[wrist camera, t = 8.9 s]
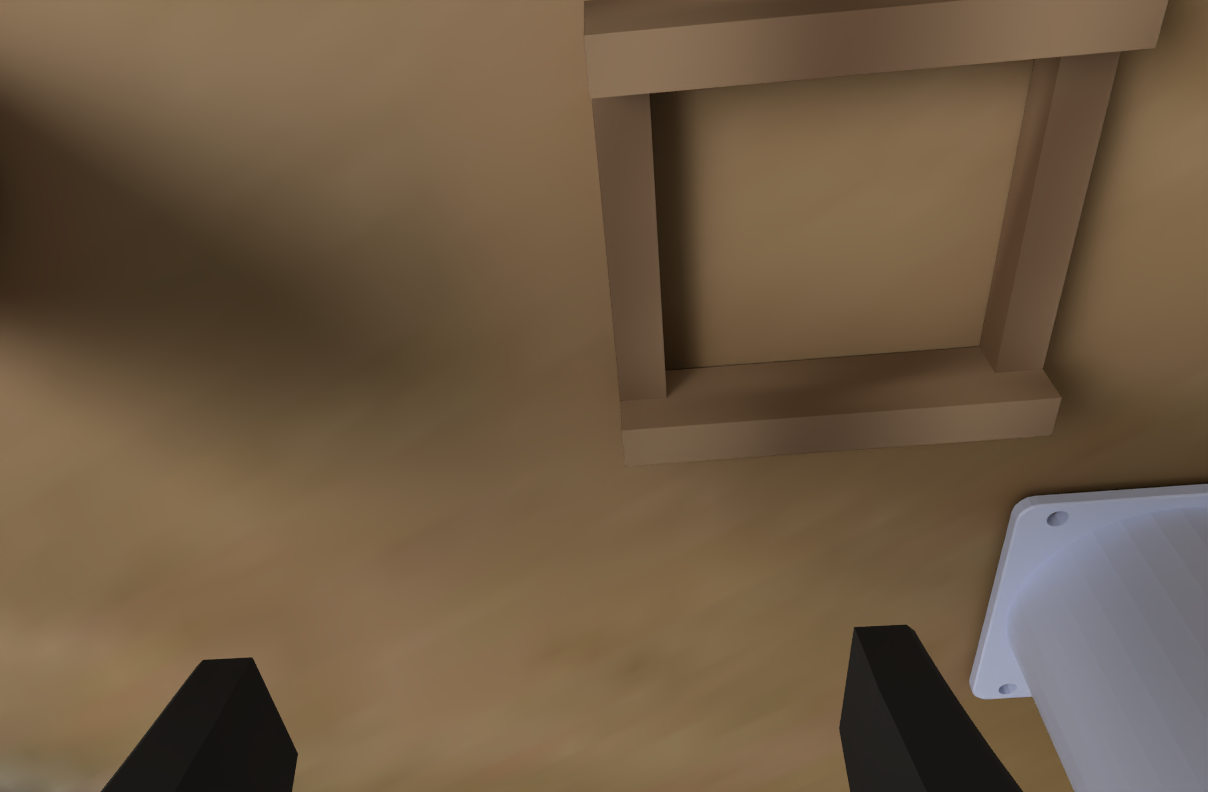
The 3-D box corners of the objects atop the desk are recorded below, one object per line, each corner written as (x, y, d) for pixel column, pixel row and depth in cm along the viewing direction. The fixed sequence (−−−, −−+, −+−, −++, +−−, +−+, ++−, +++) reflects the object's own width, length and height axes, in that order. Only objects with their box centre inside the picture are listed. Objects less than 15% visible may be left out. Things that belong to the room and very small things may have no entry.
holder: (1114, -49, 16) (1173, -19, 14) (1016, 379, 21) (1051, 435, 20) (584, 1, 16) (584, 35, 14) (622, 408, 21) (624, 466, 20)
